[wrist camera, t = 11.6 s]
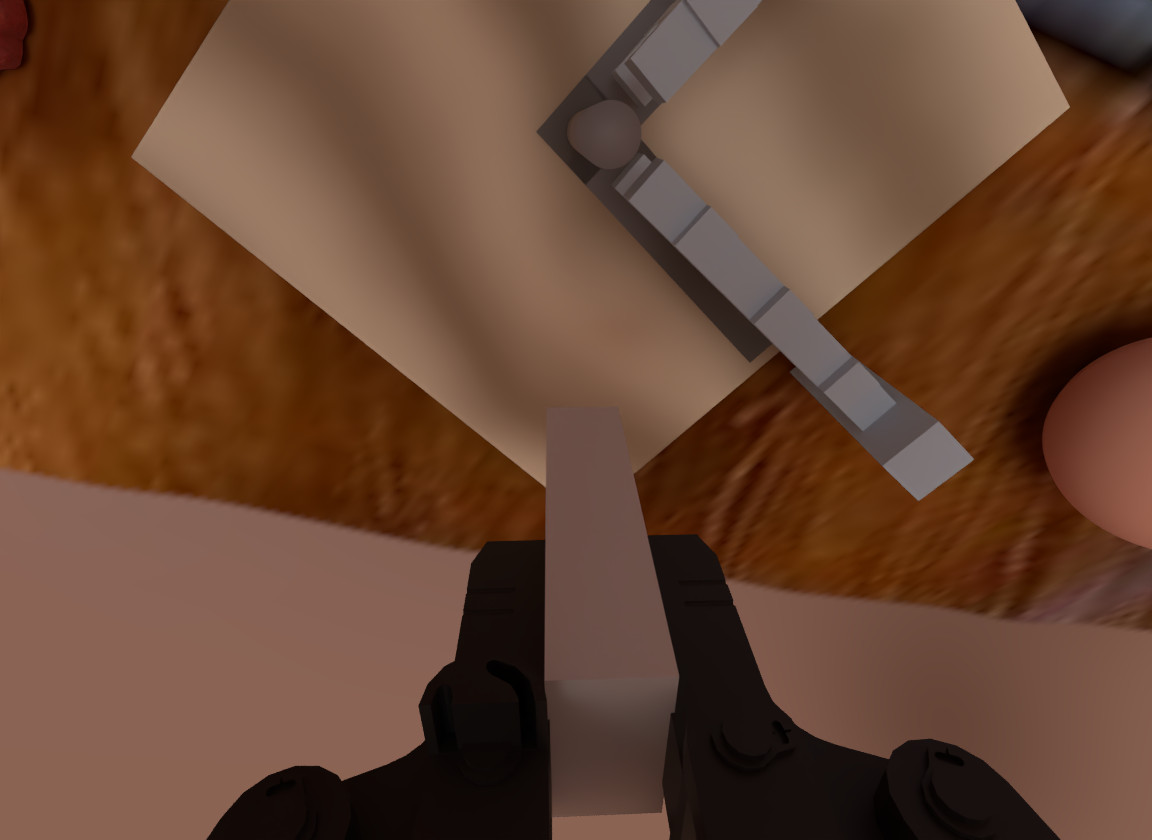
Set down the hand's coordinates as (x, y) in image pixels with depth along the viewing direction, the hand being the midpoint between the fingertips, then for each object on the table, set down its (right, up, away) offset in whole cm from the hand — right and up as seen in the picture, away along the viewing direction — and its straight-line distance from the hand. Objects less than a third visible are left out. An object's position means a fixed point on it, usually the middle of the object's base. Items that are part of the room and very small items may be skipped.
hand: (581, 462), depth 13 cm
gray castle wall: (+6, +6, +8) cm, 11 cm away
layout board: (0, +10, +6) cm, 12 cm away
